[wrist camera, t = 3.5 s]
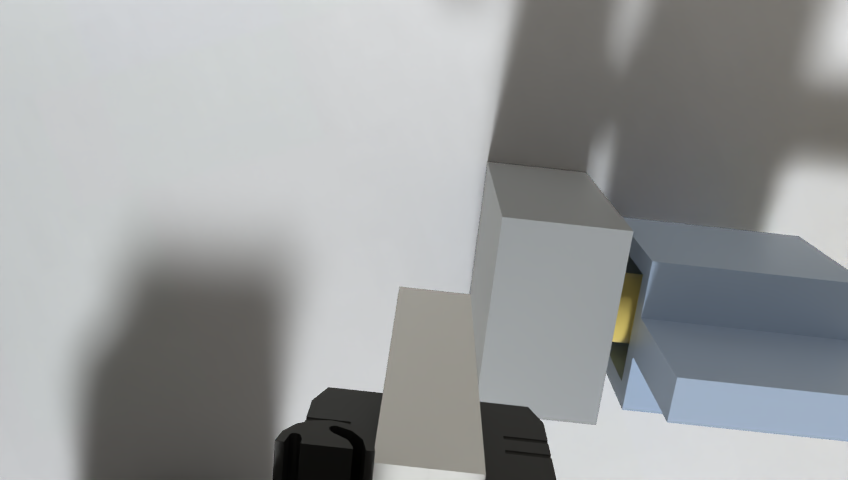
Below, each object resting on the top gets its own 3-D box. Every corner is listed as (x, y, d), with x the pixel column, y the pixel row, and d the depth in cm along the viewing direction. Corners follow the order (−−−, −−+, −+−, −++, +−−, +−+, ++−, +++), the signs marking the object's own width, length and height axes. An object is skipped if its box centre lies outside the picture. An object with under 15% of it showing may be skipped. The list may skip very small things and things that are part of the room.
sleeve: (593, 343, 23) (654, 482, 16) (617, 216, 22) (691, 311, 15) (766, 362, 23) (893, 507, 17) (798, 236, 22) (948, 339, 15)
